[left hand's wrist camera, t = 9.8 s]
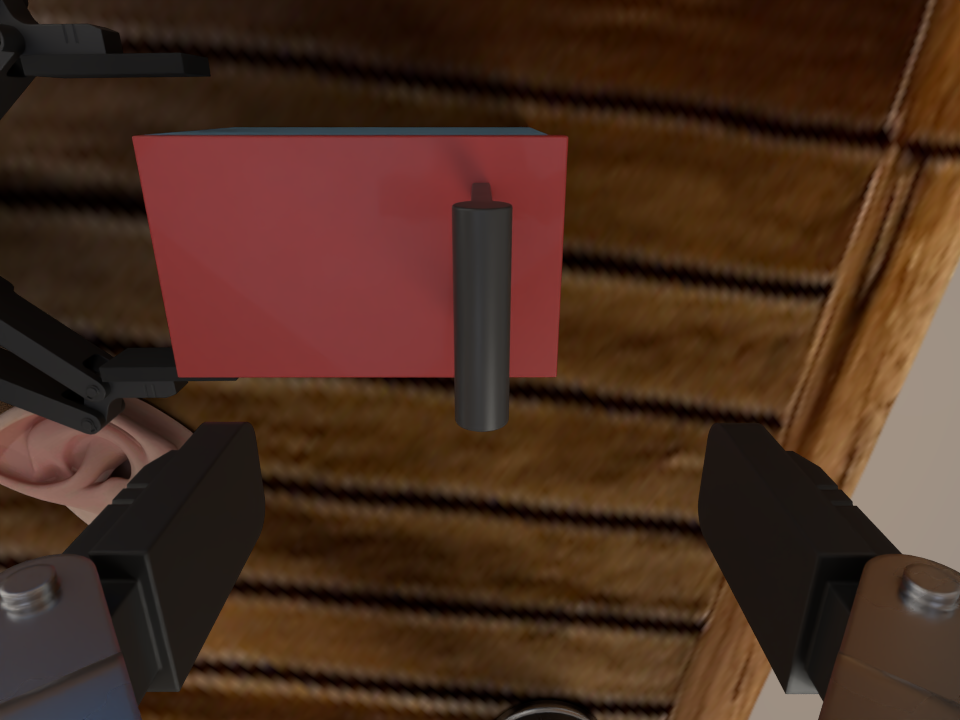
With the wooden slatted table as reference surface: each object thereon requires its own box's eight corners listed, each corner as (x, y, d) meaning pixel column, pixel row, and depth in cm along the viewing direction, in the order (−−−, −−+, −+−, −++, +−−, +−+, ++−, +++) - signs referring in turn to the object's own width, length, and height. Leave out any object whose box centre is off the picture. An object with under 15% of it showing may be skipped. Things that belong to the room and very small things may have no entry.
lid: (565, 134, 25) (608, 148, 17) (554, 370, 28) (584, 475, 20) (141, 134, 25) (-24, 148, 16) (185, 370, 28) (68, 476, 20)
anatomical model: (231, 554, 39) (76, 611, 41) (253, 515, 43) (110, 569, 44) (104, 370, 34) (-65, 443, 36) (140, 345, 38) (-14, 411, 40)
